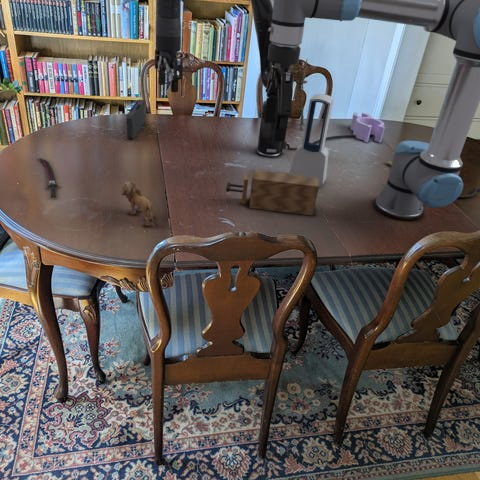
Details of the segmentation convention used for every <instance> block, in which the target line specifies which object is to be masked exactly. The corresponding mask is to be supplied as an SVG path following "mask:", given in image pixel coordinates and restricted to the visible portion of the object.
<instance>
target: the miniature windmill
mask: <svg viewBox="0 0 480 480" xmlns="http://www.w3.org/2000/svg"><path fill="white" fill-rule="evenodd" d="M305 60H306V61H305V65H304V67H300V66H299V65H296V64H294V65H293V64H292V71H291V72H293V71H296V72H297V71H298V72H299V71H301V73H300V77H299V79H296V81H295V83H297V85H296V88H295V91H294V95H293V96H292V106H297V107H292V110H300V115H298V114H292V115H291V117H298V118H300V120H298V119H292V118H288V121H292V122H300V126H299V127H300V128H299V129H300V130H303V125H304V118H305V116H304V84H308V80H305V77H306V71H307V65H308V58H306V59H305ZM298 90H301V91H300V92H301V93H300V94H301V95H299V94H297V93H298ZM295 99H296V100H300V104H295V103H294V102H295ZM299 107H300V108H299Z"/></svg>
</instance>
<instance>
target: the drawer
mask: <svg viewBox="0 0 480 480" xmlns="http://www.w3.org/2000/svg"><path fill="white" fill-rule="evenodd" d="M249 177H250V172H245V173H244V178H243V184H235V183H231V182H227V184H226V188H225V191H226V192H227V193H230V192H234V193H235V192H236V193H241V194H242V196H241V204H243V205H246V203H247V202H246V201H247V196H248V195H247V194H248V186H249ZM252 180H253V176H252V178H251V181H252ZM231 187H234V188H231ZM237 188H238V189H237ZM239 188H242V189H239ZM251 189H252V184H251V186H250V190H251ZM250 198H251V193H250V195H249V199H250ZM248 202H249V204H250V201H248Z"/></svg>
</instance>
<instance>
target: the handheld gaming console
mask: <svg viewBox="0 0 480 480" xmlns="http://www.w3.org/2000/svg"><path fill="white" fill-rule="evenodd" d="M145 122H146V102H145V99H141V98H140V99H138V100H137V101H136V102H135V103H134V104H133V106H131V108H130V109H129V111H128V113H127V114H126V137H127V139H128V140H134V139H135V138H136V136H138V133H139V132H140V131H141V129H142V127H143V126H144V124H145Z"/></svg>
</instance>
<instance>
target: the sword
mask: <svg viewBox="0 0 480 480" xmlns="http://www.w3.org/2000/svg"><path fill="white" fill-rule="evenodd" d="M40 161H41V162H42V163H43V165H44V166H45V169H46V173H47V176H48V185H47V188H50V198H56V197H57V189H56V188H57V187H59V185H58V184H57V183H56V180H55V176H54V172H53V169H52V167H51V164H50V163H49V161H48V160H46V159H43V158H40Z"/></svg>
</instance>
